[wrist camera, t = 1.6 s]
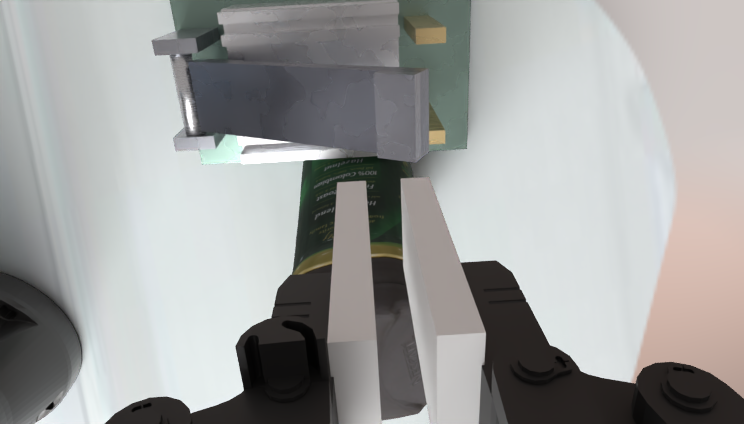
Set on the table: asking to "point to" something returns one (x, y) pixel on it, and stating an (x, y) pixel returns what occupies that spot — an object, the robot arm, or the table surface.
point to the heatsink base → (321, 59)
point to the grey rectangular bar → (317, 104)
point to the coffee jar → (389, 284)
